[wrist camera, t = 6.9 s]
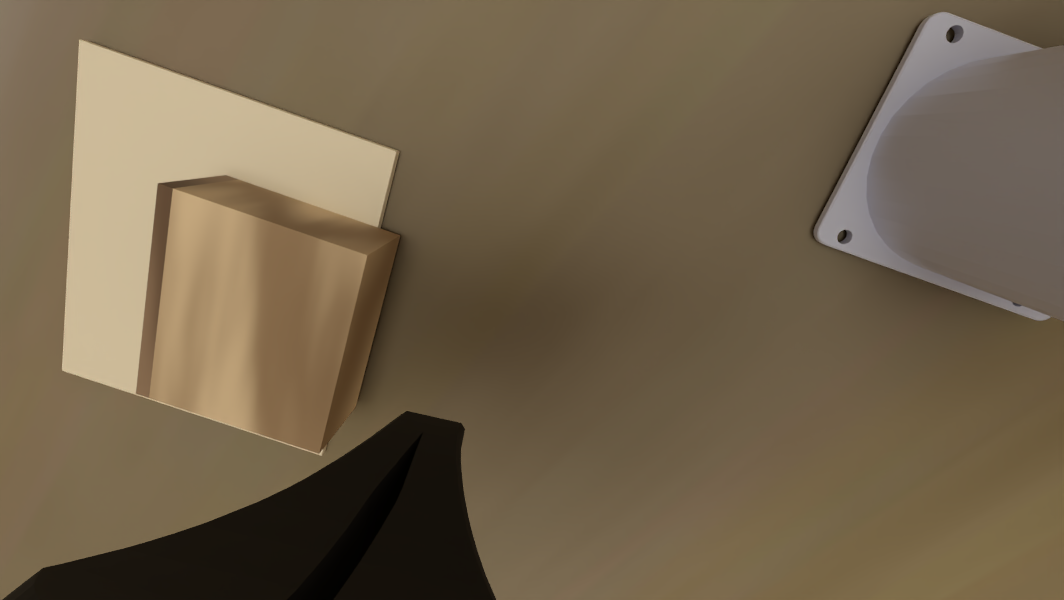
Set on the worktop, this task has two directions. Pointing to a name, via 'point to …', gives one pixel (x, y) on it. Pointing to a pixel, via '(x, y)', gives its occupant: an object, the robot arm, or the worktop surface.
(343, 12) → the worktop surface
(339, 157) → the mat
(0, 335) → the worktop surface
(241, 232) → the oak slab
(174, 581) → the robot arm
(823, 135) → the worktop surface
